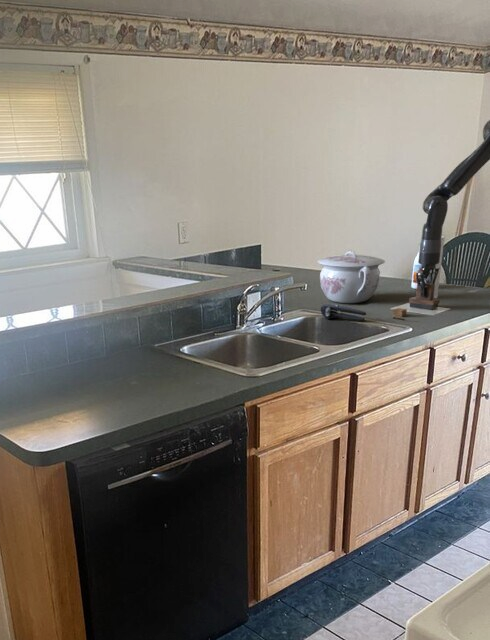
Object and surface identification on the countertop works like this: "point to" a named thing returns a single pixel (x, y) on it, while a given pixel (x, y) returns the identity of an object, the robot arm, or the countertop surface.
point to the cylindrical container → (438, 266)
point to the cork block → (399, 313)
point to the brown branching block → (425, 299)
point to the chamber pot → (349, 277)
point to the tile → (422, 311)
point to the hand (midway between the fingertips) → (425, 296)
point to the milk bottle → (415, 271)
